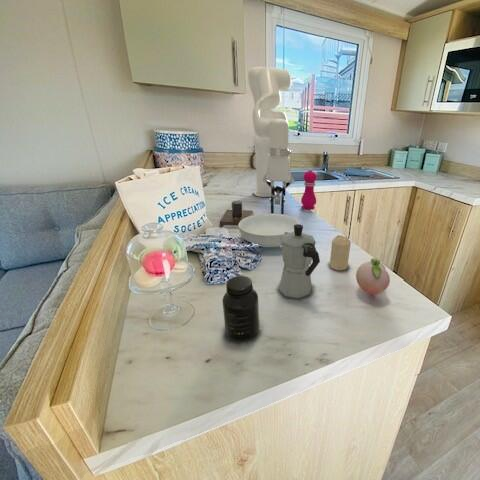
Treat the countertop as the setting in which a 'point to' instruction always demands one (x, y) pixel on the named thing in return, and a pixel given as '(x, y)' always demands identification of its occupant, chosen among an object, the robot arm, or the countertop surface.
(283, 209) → the tap bracket
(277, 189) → the tap lever
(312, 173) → the pepper mill
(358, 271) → the decorative fruit
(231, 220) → the brown rectangular slab
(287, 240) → the coffee maker
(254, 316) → the supplement bottle
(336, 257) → the candle
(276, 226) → the serving bowl
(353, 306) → the countertop surface
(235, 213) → the tap knob
